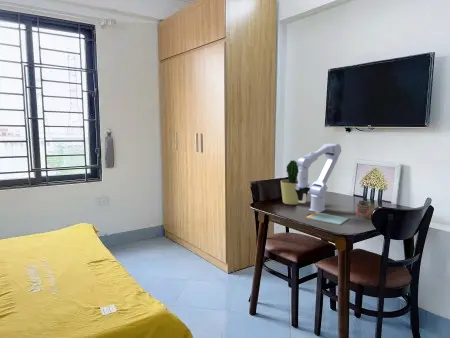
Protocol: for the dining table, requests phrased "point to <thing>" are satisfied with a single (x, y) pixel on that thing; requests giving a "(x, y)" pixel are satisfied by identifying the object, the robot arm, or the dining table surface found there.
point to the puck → (303, 199)
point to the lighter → (363, 209)
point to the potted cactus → (290, 184)
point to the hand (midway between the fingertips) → (302, 199)
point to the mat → (327, 218)
